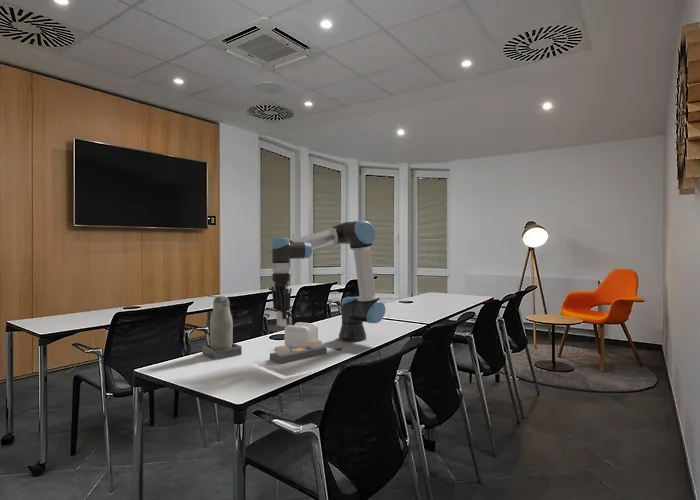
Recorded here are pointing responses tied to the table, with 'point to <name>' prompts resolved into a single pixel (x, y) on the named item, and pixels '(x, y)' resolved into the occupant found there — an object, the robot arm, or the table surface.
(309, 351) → the power strip
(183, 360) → the table surface
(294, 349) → the button
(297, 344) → the cable organizer
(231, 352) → the bottle coaster rim
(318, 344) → the button
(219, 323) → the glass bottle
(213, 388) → the table surface
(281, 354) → the button
